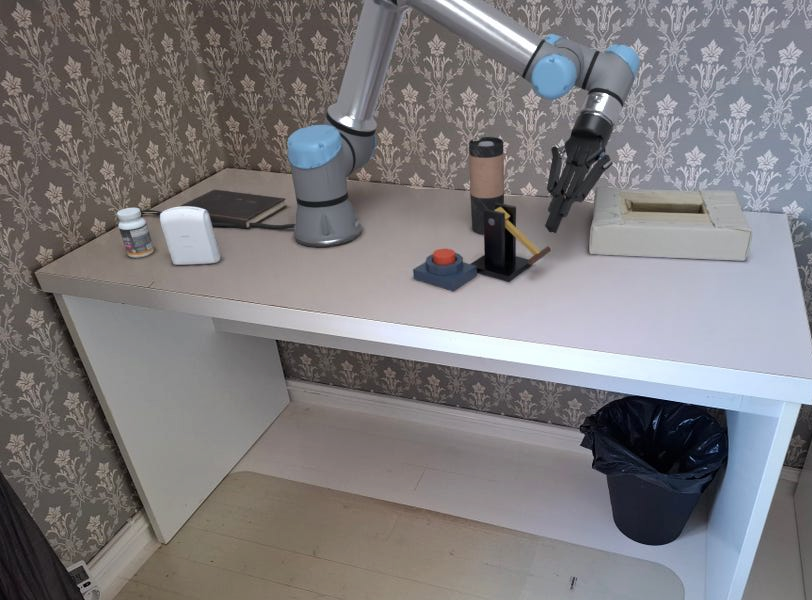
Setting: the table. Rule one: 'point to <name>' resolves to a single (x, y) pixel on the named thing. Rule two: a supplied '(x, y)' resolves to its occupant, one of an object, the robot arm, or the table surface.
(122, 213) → the pill bottle
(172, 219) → the photo printer
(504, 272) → the tap bracket
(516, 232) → the tap lever
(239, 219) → the hardcover book
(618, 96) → the robot arm
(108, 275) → the table surface
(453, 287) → the button box
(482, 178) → the travel mug
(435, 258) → the red button
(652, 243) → the box
